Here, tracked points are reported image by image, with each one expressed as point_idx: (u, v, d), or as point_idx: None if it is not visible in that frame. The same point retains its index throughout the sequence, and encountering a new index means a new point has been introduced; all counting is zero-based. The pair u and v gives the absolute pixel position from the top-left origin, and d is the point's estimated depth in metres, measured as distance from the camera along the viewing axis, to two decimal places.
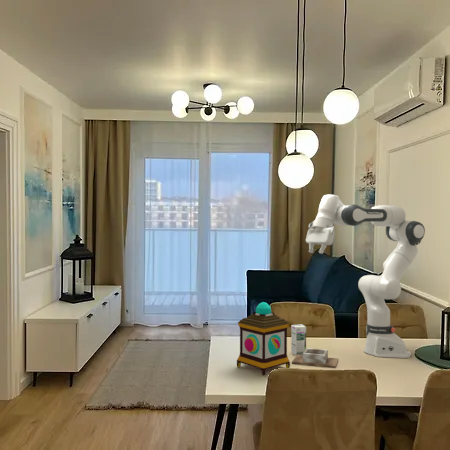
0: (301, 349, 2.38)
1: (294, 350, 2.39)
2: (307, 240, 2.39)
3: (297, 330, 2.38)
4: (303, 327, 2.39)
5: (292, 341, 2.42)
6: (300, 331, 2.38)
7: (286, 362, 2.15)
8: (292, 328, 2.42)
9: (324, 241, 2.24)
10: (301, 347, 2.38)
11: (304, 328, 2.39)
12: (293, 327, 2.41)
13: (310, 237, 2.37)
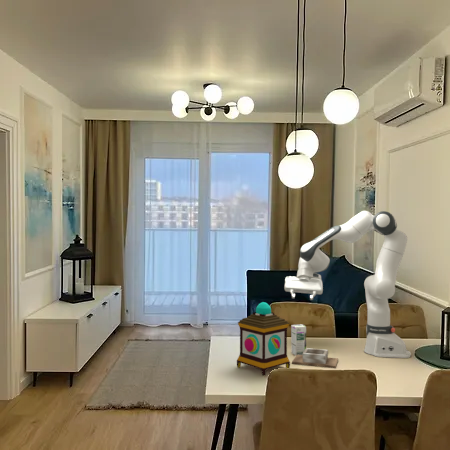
0: (301, 349, 2.38)
1: (294, 350, 2.39)
2: None
3: (297, 330, 2.38)
4: (303, 327, 2.39)
5: (292, 341, 2.42)
6: (300, 331, 2.38)
7: (286, 362, 2.15)
8: (292, 328, 2.42)
9: None
10: (301, 347, 2.38)
11: (304, 328, 2.39)
12: (293, 327, 2.41)
13: None
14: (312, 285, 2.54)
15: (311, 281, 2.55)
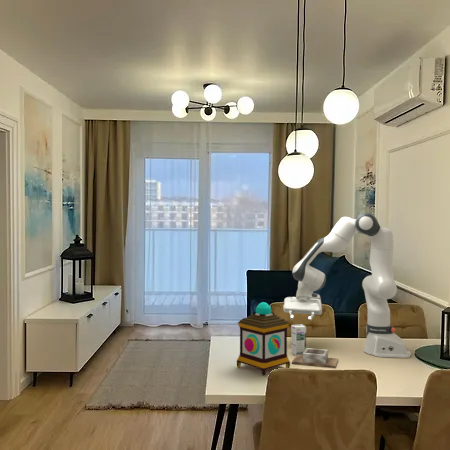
0: (301, 349, 2.38)
1: (294, 350, 2.39)
2: None
3: (297, 330, 2.38)
4: (303, 327, 2.39)
5: (292, 341, 2.42)
6: (300, 331, 2.38)
7: (286, 362, 2.15)
8: (292, 328, 2.42)
9: None
10: (301, 347, 2.38)
11: (304, 328, 2.39)
12: (293, 327, 2.41)
13: None
14: (311, 305, 2.50)
15: (310, 301, 2.52)
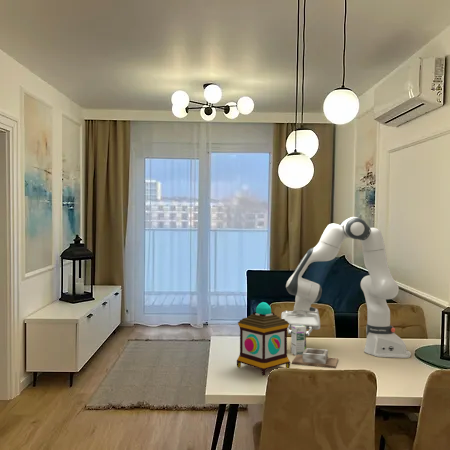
0: (301, 348, 2.38)
1: (294, 350, 2.39)
2: None
3: (297, 330, 2.38)
4: (303, 327, 2.39)
5: (292, 341, 2.42)
6: (300, 331, 2.38)
7: (286, 362, 2.15)
8: (292, 328, 2.42)
9: None
10: (300, 347, 2.38)
11: (304, 328, 2.39)
12: (293, 327, 2.41)
13: None
14: (309, 320, 2.43)
15: (308, 316, 2.45)
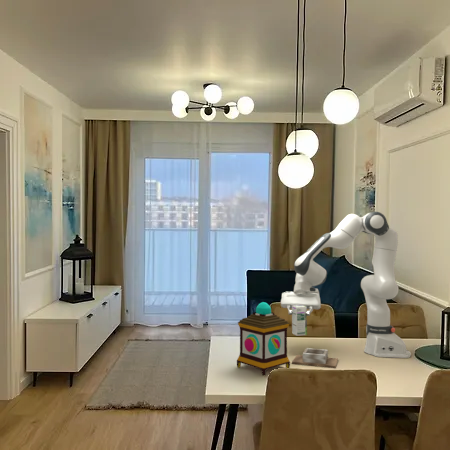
0: (302, 329, 2.38)
1: (295, 330, 2.39)
2: None
3: (297, 310, 2.38)
4: (304, 307, 2.39)
5: (293, 321, 2.42)
6: (301, 311, 2.38)
7: (286, 362, 2.15)
8: (293, 308, 2.42)
9: None
10: (301, 327, 2.38)
11: (305, 308, 2.39)
12: (294, 307, 2.40)
13: None
14: (309, 299, 2.43)
15: (308, 296, 2.45)
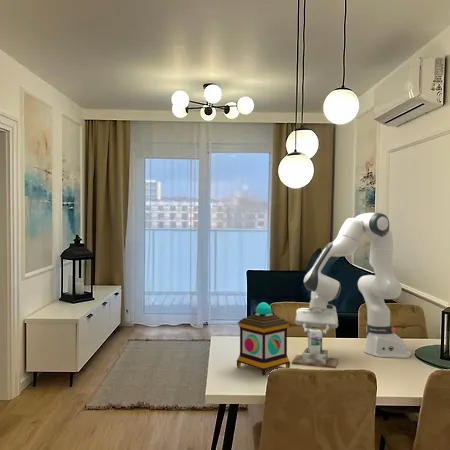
0: None
1: None
2: None
3: (311, 334, 2.24)
4: (319, 332, 2.24)
5: (308, 346, 2.28)
6: (316, 335, 2.24)
7: (286, 362, 2.15)
8: (308, 332, 2.28)
9: None
10: (316, 353, 2.24)
11: (320, 333, 2.24)
12: (309, 331, 2.27)
13: None
14: (326, 317, 2.29)
15: (325, 313, 2.31)
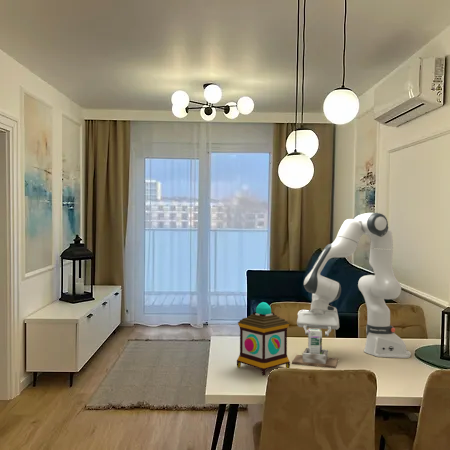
0: None
1: None
2: None
3: (311, 334, 2.25)
4: (319, 332, 2.25)
5: (308, 346, 2.29)
6: (315, 335, 2.25)
7: (286, 362, 2.15)
8: (308, 332, 2.29)
9: None
10: (315, 353, 2.24)
11: (320, 333, 2.25)
12: (309, 331, 2.28)
13: None
14: (327, 319, 2.31)
15: (326, 315, 2.33)
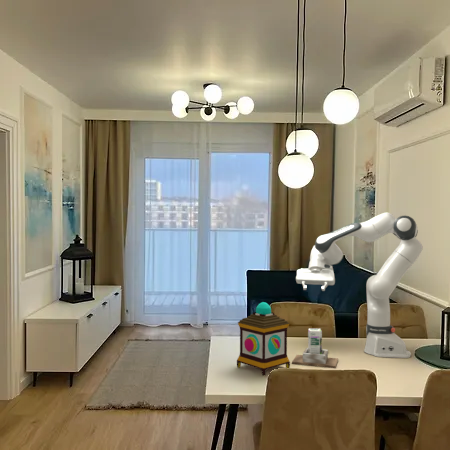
0: None
1: None
2: None
3: (311, 334, 2.25)
4: (319, 332, 2.25)
5: (308, 346, 2.29)
6: (315, 335, 2.25)
7: (286, 362, 2.15)
8: (308, 332, 2.29)
9: None
10: (315, 353, 2.24)
11: (320, 333, 2.25)
12: (309, 331, 2.28)
13: None
14: (324, 276, 2.52)
15: (323, 272, 2.53)
